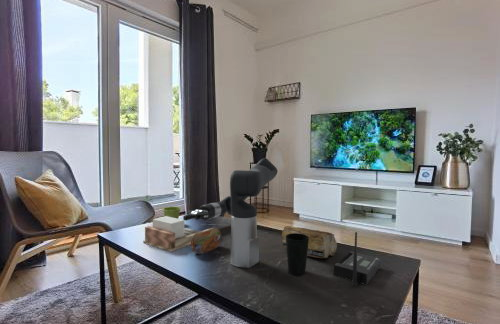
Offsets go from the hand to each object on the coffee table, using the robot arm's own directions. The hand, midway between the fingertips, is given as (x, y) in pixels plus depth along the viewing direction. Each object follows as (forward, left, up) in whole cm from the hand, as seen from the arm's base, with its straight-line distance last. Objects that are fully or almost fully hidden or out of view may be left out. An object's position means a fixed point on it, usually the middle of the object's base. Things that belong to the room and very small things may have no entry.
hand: (184, 218), depth 128 cm
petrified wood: (-53, -17, -9) cm, 56 cm away
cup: (-57, +3, -9) cm, 58 cm away
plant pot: (+22, -11, -9) cm, 26 cm away
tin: (-19, +6, -9) cm, 22 cm away
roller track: (0, +5, -9) cm, 10 cm away
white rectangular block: (0, +9, -6) cm, 11 cm away
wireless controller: (-74, -8, -10) cm, 75 cm away
